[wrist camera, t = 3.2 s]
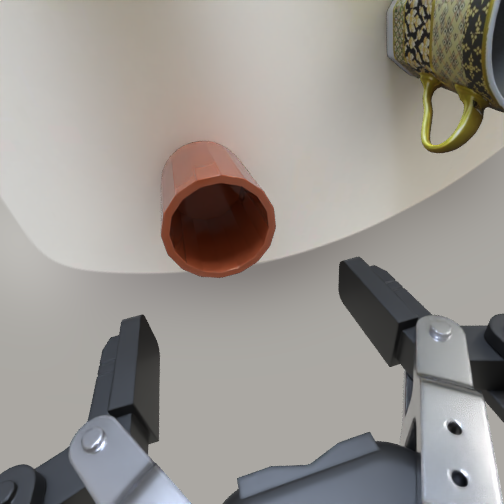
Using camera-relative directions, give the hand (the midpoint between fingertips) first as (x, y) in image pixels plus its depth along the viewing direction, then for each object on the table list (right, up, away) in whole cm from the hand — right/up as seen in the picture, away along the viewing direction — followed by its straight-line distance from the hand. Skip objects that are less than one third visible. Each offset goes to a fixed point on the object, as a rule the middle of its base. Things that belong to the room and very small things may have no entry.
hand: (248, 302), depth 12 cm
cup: (-4, +7, +12) cm, 14 cm away
